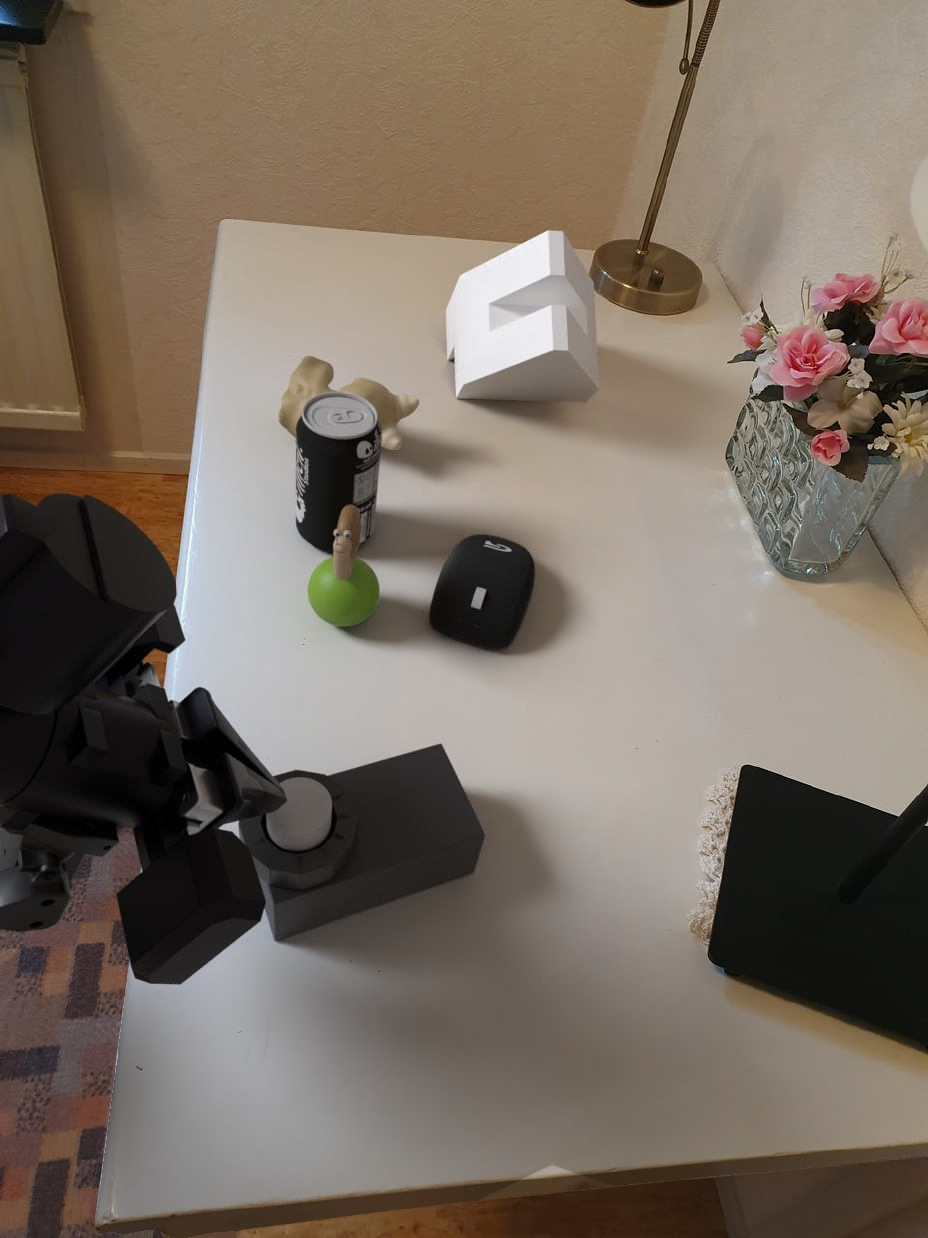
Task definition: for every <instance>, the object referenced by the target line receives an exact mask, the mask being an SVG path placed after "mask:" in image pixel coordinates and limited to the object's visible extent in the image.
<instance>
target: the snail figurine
mask: <svg viewBox="0 0 928 1238" xmlns="http://www.w3.org/2000/svg"><path fill="white" fill-rule="evenodd" d="M360 533H361V518H360V512H359V509H358V508H357V507H356V506H355V505H347V506H345V507H344V508H343V509H342V511H341V514H340V517H339V521H338V526H337V529H335V530H334V532H333V534H334V536H335V541H334V544H333V549H334V551H333V552H332V553H333V554H332V556H331V557H328V558H326V559H324V560H323V561H322V562H319V564H318V565H317V566H316V567H315V569H314V570H313V571H312V573H311V575H310V577H309V580H308V583H307V585H308V586H307V596H308V601H309V604H310V607H311V608H312V610H313V611H314V613H315V614H316V615H317V616H318V617H319V618H320V619H321V620H323V621H324V622H326V623H328V624H330V625H333V626H336V627H350V626H351V627H352V626H355V625H358V624H360V623H362V622H364V621H365V620H366V619H368V618H369V617H370V616H371V615H372V613H373V612H374V611H375V609H376V608H377V605H378V603H379V599H380V591H381V590H380V589H381V588H380V583H379V578H378V577H377V574H376V573H375V571H374V569H373V568H372V567H371V566H370V565H369V564H368V563H367V562H366V561H364V560H363V559H361V558H359V557H357V554H358V551H359V547H360V546H359V542H360Z"/></svg>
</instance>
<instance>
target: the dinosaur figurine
mask: <svg viewBox="0 0 928 1238" xmlns="http://www.w3.org/2000/svg"><path fill="white" fill-rule="evenodd" d="M334 371H335V370H334V366H333V365H332V364H331V363H330V362H328V361H326V360H323V359H320V358H318V357H315V356H313V355H305V356H304V357H303V358H301V360H300V362H299V363H298V364H297V366H296V368H295V369H294V370H293V372H292V373H291V375H290V377H289V384H288V387H287V389H286V390H285V392H284V393H283V394H282V396H281V404H280V408H279V410H278V423H279V425H281V426H282V427H283V428H284V429H285V430H286V431H287V432H288V433H289V434H290V435H292V436H293V437H294V438H295V439H296V425H297V422H298V420H299V418H300V417H301V416H302V409H303V406H304V404H305V403H306V402H307V401H308V400H309V399H311V398H312V397H314V396H316V395H319V394H323V393H328V392H345V393H350V394H354V395H357V396H360V397H362V398H364V399H366V400H367V401H369V402H370V403H371V404H372V405H373V406H374V408H375V409H376V411H377V414H378V422H379V424H380V426H381V429H382V441H381V448H384V449H385V450H389V451H397V450H399V449H400V448H401V447H402V445H403V444H402V438H401V435H400V431H399V430H398V428H397V425H398V423H399V422H400V421H401V420H403V419H405V418H407V417H409V416H410V415H412V414H413V413H414V412H415V411H416V410H417V409H418V408H419V405H420V399H419V398H418V397H416V396H413V395H408V394H394V393H392V392H390V390H389V389H388V388H387V387H386V386H385V385H383V384H382V383H379V382H377V381H375V380H372V379H369V378H365V377H356V378H355V379H353V380H352V381H351V383H350V384H347V385H345V386H343V387H340V389H338V390H334V389H332V388H330V387H329V385H330V384H331V383H332V381H333V380H334V377H335V376H334V373H335V372H334Z"/></svg>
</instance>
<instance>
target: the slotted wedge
mask: <svg viewBox="0 0 928 1238" xmlns="http://www.w3.org/2000/svg"><path fill="white" fill-rule="evenodd" d="M457 279H458V280H457V282H456V285H455V287H454V289H453V292H452V294H451V296H450V299H449V301H448V304H447V307H446V309H445V328H446V333H445V334H446V361H448V360H449V358H450V356H451V354H452V352H453V351H454V378H455V379H454V380H455V381H454V382H455V399H460V400H461V399H462V400H463V399H465V400H491V401H492V400H494V401H495V400H496V401H525V402H554V403H555V402H559V403H584V404H585V403H587V402H588V401H589V400H590V399H591V398H592V397H593V396H594V395H595V394H596V393H597V392H598V391H599V389H600V388H599V387H600V386H599V366H598V362H599V361H598V346H597V345H598V342H597V340H598V339H597V323H596V322H597V321H596V297H595V283H594V280H593V279H592V277H591V276H590V274H589V272H588V271H587V269H586V267H585V266H584V264H583V262H582V260H581V258H579V256H578V254H577V252H576V250H575V249H574V247H573V246H572V243H571V242H570V241H569V239H568V237H567V235H566V234H565V232H564V231H562V230H549V229H548V230H546V231H544V232H542V233H540V234H538V235H536V236H534V237H532V238H530V239H528V240H527V241H525V242H523V243H520V244H518V245H516V246H515V247H513V248H511V249H509V250H507V251H505V252H503V253H501V254H499V255H497V256H495V257H493V258H491V259H489V260H487V261H485V262H484V263H481V264H479V265H477V266H475V267H474V268H472V269H470V270H467V271H466V272H463V273H462V274H461V275H459V276H458V278H457Z"/></svg>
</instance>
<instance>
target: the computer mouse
mask: <svg viewBox="0 0 928 1238" xmlns="http://www.w3.org/2000/svg"><path fill="white" fill-rule="evenodd" d="M535 579H536V564H535V560H534V558H533V555H532V554H531V552H530V551H529V550H528V549H527V548H526V547H524V546H523V545H522V544H519V543H518V542H516V541H514V540H510V539H507V538H505V537H501V536H497V535H496V536H495V535H492V534H479V533H478V534H472V535H469V536H466V537H465V538H463V539H461V540H460V541H459V542H458V543H456V544H455V546H454V547H453V548H452V549H451V550H450V552H449V553H448V555H447V557H446V559H445V561H444V563H443V565H442V567H441V570H440V572H439V575H438V579H437V581H436V584H435V586H434V587H435V588H434V590H433V594H432V598H431V602H430V607H429V613H428V622H429V624H430V627H431V628H432V629H433V630H434V631H435V632H437V633H439V634H441V635H442V636H445V637H447V638H449V639H453V640H456V641H459V642H463V643H465V644H470V645H472V646H476V647H480V648H483V649H487V650H488V649H489V650H504V649H506V648H509V647H510V646H511V645H512V643H513V642H514V640H515V638H516V637H517V635H518V633H519V631H520V629H521V627H522V624H523V622H524V619H525V617H526V614H527V611H528V608H529V606H530V602H531V599H532V595H533V589H534V586H535Z"/></svg>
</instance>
